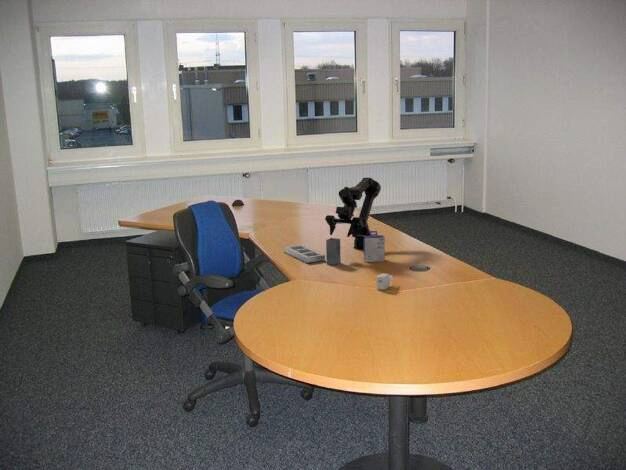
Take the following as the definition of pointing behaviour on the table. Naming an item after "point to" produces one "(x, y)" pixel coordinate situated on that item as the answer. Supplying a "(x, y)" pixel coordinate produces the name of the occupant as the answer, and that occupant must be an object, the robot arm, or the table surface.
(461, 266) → the table surface
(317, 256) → the silver compartment tray
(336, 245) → the steel square peg
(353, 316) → the table surface
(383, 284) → the power adapter
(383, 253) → the ink cartridge box
